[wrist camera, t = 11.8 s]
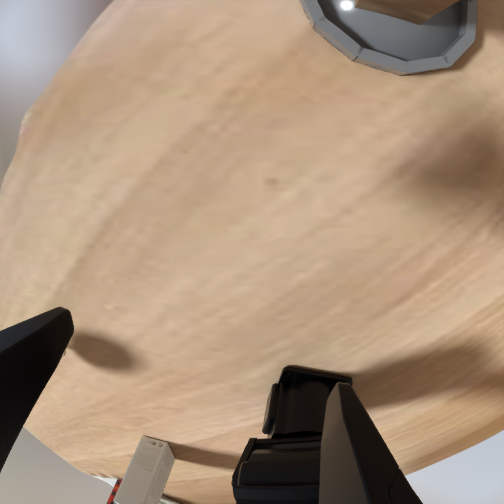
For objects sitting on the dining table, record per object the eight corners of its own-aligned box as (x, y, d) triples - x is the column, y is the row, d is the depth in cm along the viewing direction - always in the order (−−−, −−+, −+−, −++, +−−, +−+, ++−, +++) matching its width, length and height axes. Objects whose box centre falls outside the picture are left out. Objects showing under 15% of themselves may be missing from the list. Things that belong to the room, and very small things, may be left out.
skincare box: (141, 434, 38) (111, 500, 27) (168, 441, 37) (141, 511, 27) (151, 452, 40) (126, 512, 30) (176, 459, 40) (153, 522, 29)
